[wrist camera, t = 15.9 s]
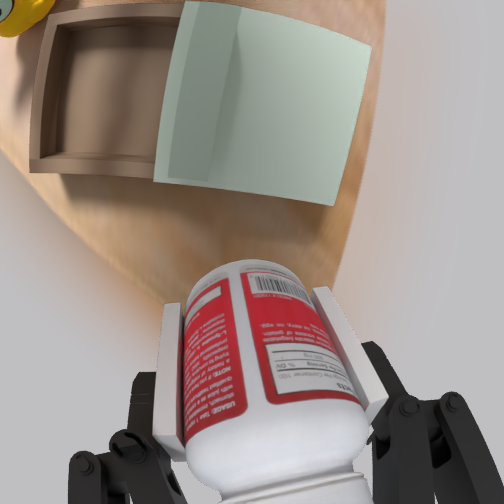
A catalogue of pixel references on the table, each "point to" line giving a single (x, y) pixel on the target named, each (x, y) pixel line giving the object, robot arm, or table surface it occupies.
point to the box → (102, 89)
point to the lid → (259, 104)
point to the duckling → (21, 15)
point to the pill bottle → (267, 393)
